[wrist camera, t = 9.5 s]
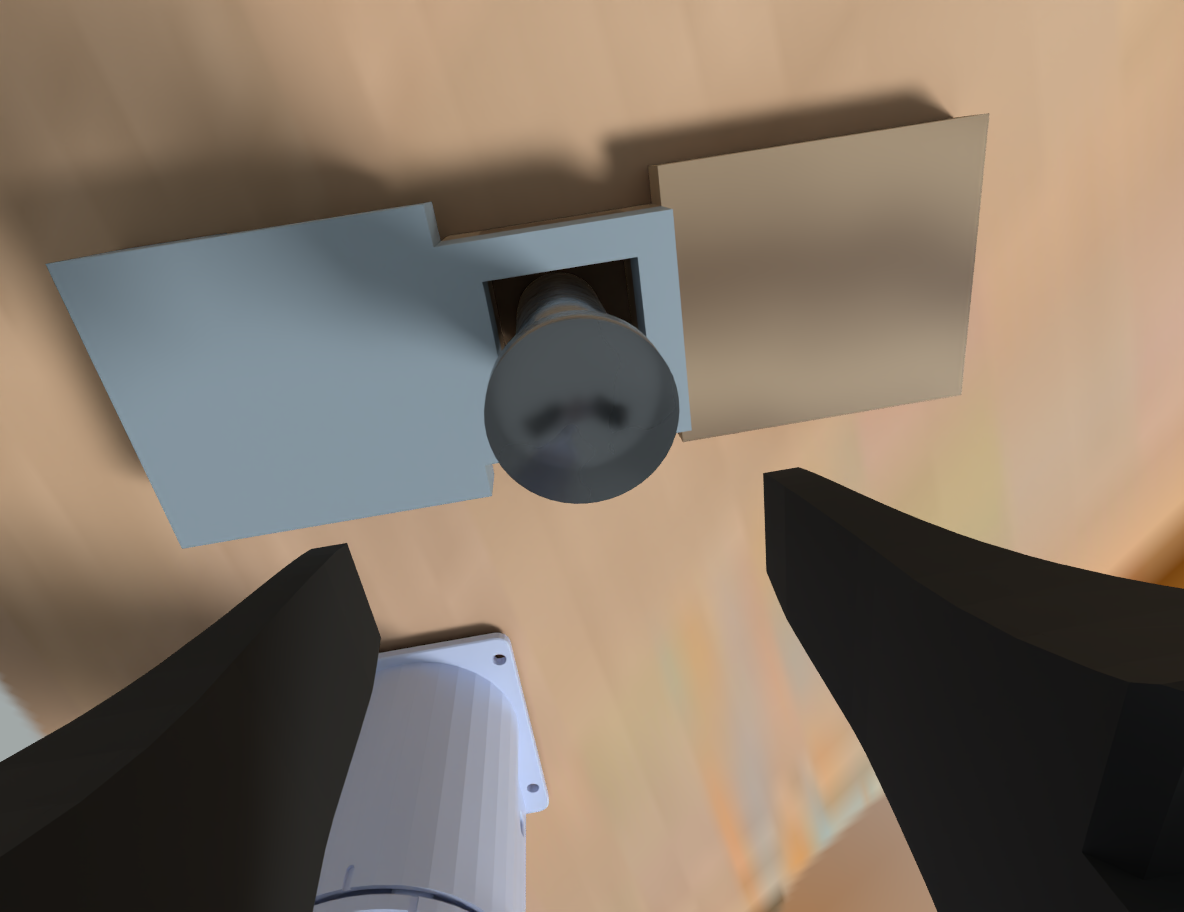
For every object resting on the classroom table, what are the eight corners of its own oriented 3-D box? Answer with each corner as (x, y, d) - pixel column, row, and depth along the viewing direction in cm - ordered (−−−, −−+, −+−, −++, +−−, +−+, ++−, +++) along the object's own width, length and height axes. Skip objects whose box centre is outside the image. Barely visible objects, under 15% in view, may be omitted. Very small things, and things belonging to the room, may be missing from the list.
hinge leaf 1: (673, 425, 22) (694, 461, 19) (226, 500, 21) (182, 548, 19) (647, 166, 18) (669, 165, 16) (118, 250, 18) (45, 263, 15)
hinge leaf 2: (934, 380, 22) (961, 394, 20) (496, 454, 22) (494, 473, 20) (955, 117, 19) (989, 113, 17) (438, 199, 18) (431, 201, 17)
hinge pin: (625, 360, 21) (688, 484, 13) (514, 381, 21) (507, 519, 13) (607, 244, 19) (667, 302, 11) (488, 266, 19) (462, 340, 11)
